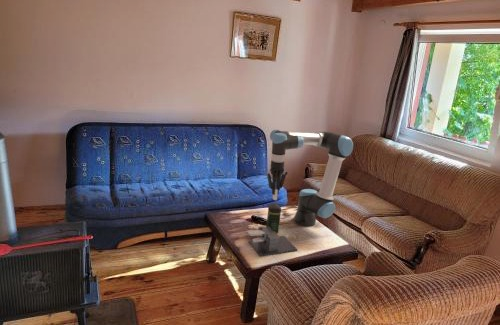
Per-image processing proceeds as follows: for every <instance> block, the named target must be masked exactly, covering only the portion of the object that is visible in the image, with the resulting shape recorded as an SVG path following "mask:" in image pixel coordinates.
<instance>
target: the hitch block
mask: <svg viewBox="0 0 500 325" xmlns="http://www.w3.org/2000/svg"><path fill="white" fill-rule="evenodd" d="M260 229H262V230H263V231H264V232H265V233H264V235H259V236H258V238H262V237H264V240H266V242H262V243H254V244H253V242H252V239H250V240H248V243H249V244H250V246H251V245H252V246H251V247H252V248H253V250H254V251H255V252H256V254H257V255H258V256H259V257H260V258H261V257H267V256H273V255H281V254H286V253H287V254H288V253H294V252H298V248H297V247H296V246H295V245H294V244H293V243H292V242H291V241H290V240H289V239H288V238H287V237H286V236H285V235H279V234H278V235H279V236H278V235H277V234H276V233H275V232H274V231H273V230H272V229H271V228H270V227H266V226H259V227H258V230H260Z"/></svg>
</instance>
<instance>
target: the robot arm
mask: <svg viewBox="0 0 500 325" xmlns="http://www.w3.org/2000/svg"><path fill="white" fill-rule="evenodd" d="M269 134H270V135H269V139H270V140H271V142H272V144H271V160H270V170H269V171H268V172H266V173H265V175H266V176H267V177H266V178H267V182H268V188H270V189H271V194H272V200H274V201H277V200H278V195H279V194H280V190H281V189H282V188H283V186H284V183H285V179H286V176H287V175H288V172H287V171H286V170H285V160H286V151H288V150H295V149H300V148H302V147H303V145H308V146H309V145H311V146H314V147H319V148H322V149H325V150H327V151H328V152H327V155H328V156H329V157H328V161H327V163H326V166H325V170H324V175H323V178H322V180H321V185H320V187H319V191H317V190H316V189H311V188H304V189H301V190H300V192H299V195H298V201H297V202H298V203H297V210H296V212H295V215H294V216H293V222H294V223H295V224H297V225H299V226H302V227H303V226H304V227H313V226H315V225H316V222H317V219H316V216H317V217H321V218H323V219H327V218H329V217H331V216H332V215H333V214H334V213H335V210H336V205H335V203H334V199H335V198H334V196H333V195H334V191H335V187H336V184H337V180H338V177H339V175H340V171H341V167H342V164H343V161H344V160H346V158H347V157H348V156H349V157H350V156H351V154H352V153H353V150H354V143H353V140H352V138H350V137H348V136H346V135H342V134H339V133H337V132H332V131H331V132H330V131H314V132H303V131H302V132H301V131H288V130H279V129H273V130H272V131H271V132H270V133H269Z"/></svg>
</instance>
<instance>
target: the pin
mask: <svg viewBox="0 0 500 325" xmlns="http://www.w3.org/2000/svg"><path fill="white" fill-rule="evenodd" d="M274 232H275V231H274ZM275 233H276V232H275ZM276 234H277V233H276ZM277 235H278V236H280V235H279V233H278V234H277ZM251 240H252V242H253V244H254V243H262V242H266V240H264V237H262V238H259V237H257V238H256V237H255V238H252V239H251Z"/></svg>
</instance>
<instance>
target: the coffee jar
mask: <svg viewBox="0 0 500 325" xmlns="http://www.w3.org/2000/svg"><path fill="white" fill-rule="evenodd" d="M267 208H268V209H267V215H266V216H267V218H266V226H265V227H270V228H271V229H272V230H273V231H275V232H276V233H277V234H278V235H279V231H280V230H279V229H280V222H281V214H282V207H281V206H280V205H279V203H277V202H271V203H269V204H268V207H267Z"/></svg>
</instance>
